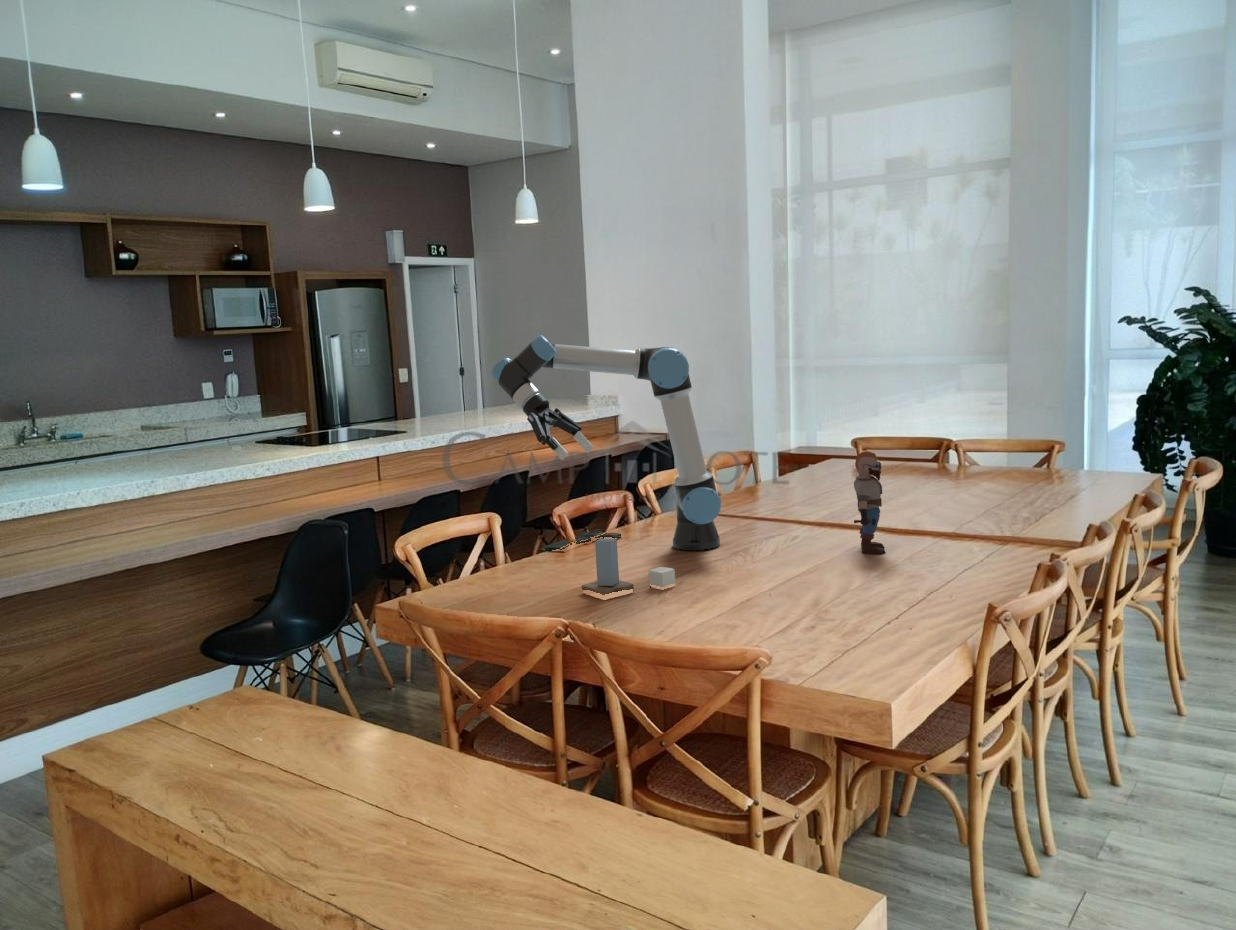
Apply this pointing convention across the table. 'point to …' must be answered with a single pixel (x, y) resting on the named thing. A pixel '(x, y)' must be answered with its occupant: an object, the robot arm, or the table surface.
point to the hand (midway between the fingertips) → (578, 453)
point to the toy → (868, 500)
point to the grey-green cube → (662, 576)
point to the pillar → (607, 562)
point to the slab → (608, 587)
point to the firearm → (579, 538)
